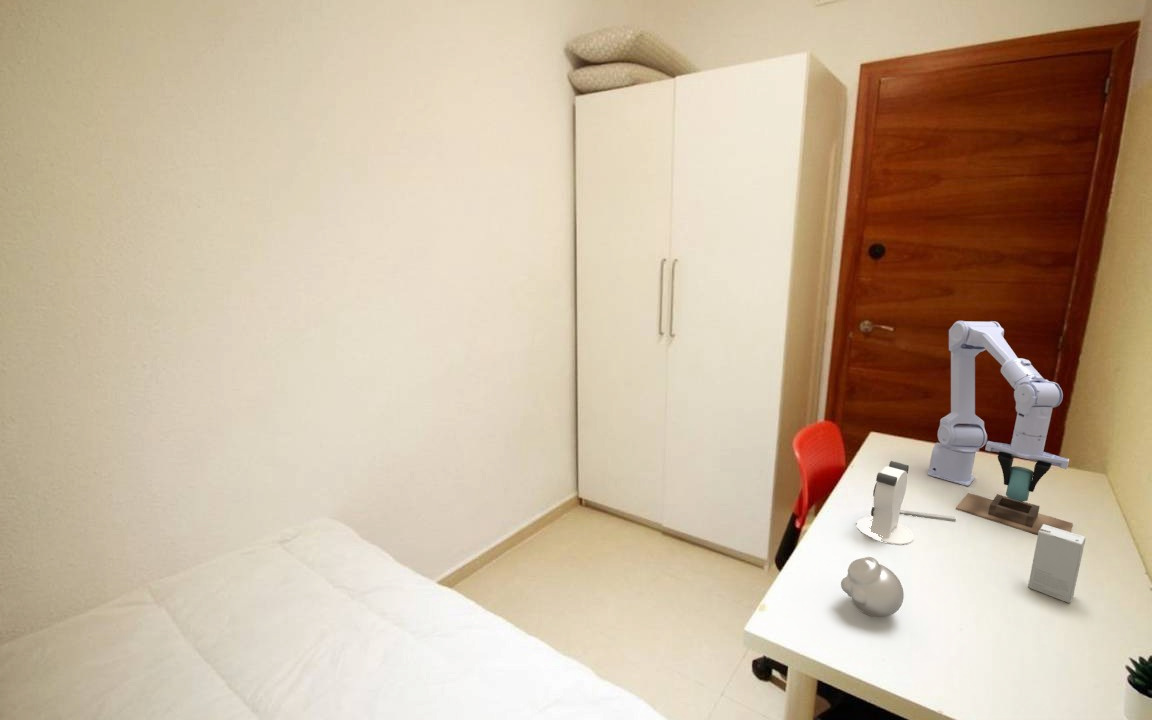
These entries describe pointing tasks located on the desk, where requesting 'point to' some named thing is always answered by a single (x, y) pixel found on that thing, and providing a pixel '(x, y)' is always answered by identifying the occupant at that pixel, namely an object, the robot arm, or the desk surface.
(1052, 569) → the skincare box
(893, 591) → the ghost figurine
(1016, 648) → the desk surface
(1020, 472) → the teal peg
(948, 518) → the light grey rod
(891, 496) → the white tall piece
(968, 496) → the peg stand
